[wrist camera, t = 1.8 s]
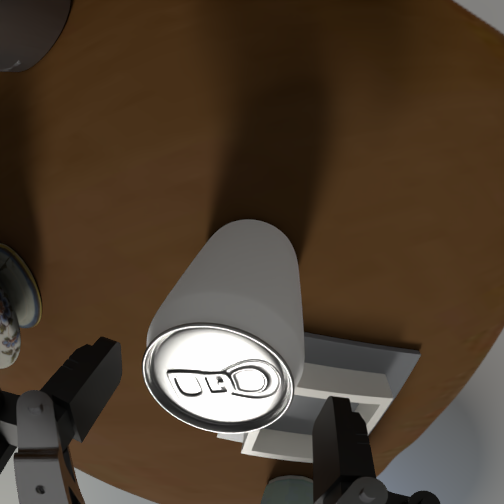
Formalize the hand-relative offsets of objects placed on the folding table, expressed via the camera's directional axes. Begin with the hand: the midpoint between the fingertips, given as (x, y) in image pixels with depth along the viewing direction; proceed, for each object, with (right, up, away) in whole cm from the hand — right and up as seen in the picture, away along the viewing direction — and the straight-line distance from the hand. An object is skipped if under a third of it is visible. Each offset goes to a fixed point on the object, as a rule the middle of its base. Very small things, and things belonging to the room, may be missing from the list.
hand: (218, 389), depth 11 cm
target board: (+6, -9, +15) cm, 18 cm away
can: (+1, +4, +11) cm, 12 cm away
